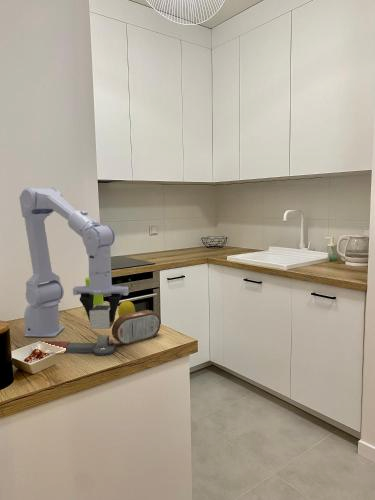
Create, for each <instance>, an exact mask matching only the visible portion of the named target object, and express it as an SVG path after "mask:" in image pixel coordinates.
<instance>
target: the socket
mask: <svg viewBox="0 0 375 500" xmlns="http://www.w3.org/2000/svg"><path fill="white" fill-rule="evenodd" d="M89 314H90V322H89V330H110V329H112V327H113V324H114V322H115V321H114V322H111V320H110V304H103V305H94V306H93V307H92V308H91V309H90V310H89Z"/></svg>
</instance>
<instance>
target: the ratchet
mask: <svg viewBox="0 0 375 500" xmlns="http://www.w3.org/2000/svg"><path fill="white" fill-rule="evenodd" d="M40 342H45V343H48V344H51V345H55V346H59V347H63V348H66V351H65V352H64V353H63V354H73V355H75V354H77V355H79V354H81V355H82V354H83V355H84V354H85V355H93V356H96V357H107V356H110V355H112V354H114V353H115V352H116V347H115V346H116V344H115V343H114V342H113V341H111V340H110V334H99V335H98V336H97V338H96V342H70V341H65V340H64V341H62V340H61V341H56V340H53V341H52V340H50V341H49V340H44V341H43V340H41V341H40Z"/></svg>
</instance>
